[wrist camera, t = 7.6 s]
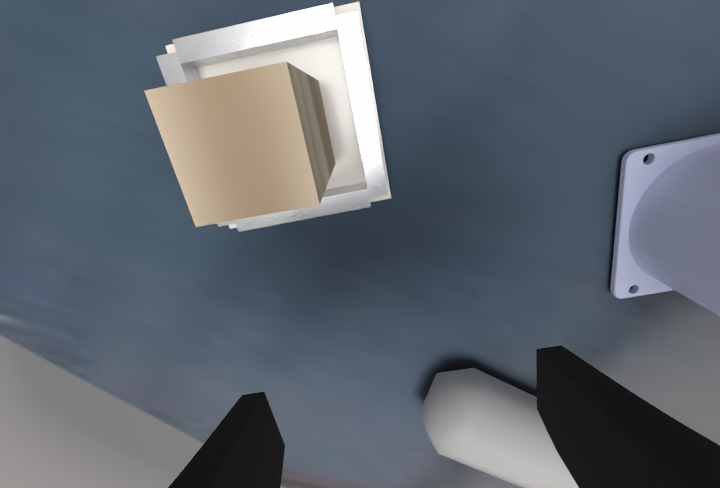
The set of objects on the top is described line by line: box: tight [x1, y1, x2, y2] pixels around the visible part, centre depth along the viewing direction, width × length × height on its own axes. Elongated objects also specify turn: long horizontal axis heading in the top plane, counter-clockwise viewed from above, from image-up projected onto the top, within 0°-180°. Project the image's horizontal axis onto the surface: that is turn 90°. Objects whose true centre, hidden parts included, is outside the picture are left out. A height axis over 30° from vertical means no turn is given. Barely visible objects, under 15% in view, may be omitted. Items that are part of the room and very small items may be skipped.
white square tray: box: [156, 3, 388, 232], centre depth 15 cm, size 8×8×2 cm
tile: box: [166, 2, 391, 229], centre depth 16 cm, size 8×8×1 cm
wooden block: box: [145, 62, 335, 227], centre depth 12 cm, size 4×4×7 cm
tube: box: [419, 368, 579, 488], centre depth 22 cm, size 5×5×25 cm
